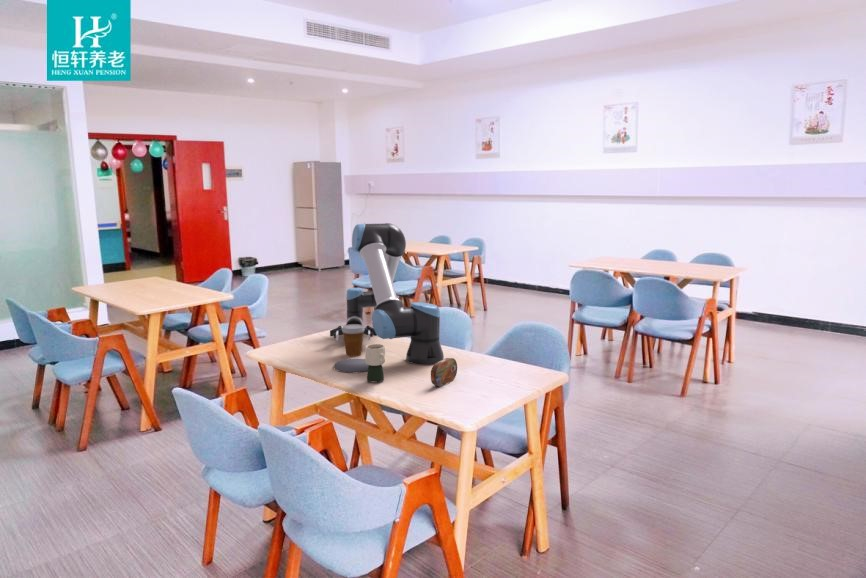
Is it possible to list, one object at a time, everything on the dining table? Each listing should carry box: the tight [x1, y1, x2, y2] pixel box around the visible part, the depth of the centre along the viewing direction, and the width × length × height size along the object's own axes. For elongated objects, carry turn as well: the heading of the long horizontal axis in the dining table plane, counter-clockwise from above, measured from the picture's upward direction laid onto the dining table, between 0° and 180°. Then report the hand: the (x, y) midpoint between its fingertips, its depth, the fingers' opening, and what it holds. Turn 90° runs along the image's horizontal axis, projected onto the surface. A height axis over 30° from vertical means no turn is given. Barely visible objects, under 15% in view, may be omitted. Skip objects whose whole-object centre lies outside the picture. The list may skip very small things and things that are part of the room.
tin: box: [430, 357, 458, 388], centre depth 212 cm, size 15×3×8 cm, turn 148°
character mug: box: [364, 343, 386, 383], centre depth 213 cm, size 11×7×13 cm, turn 39°
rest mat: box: [333, 358, 369, 374], centre depth 231 cm, size 16×16×1 cm
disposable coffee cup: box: [342, 324, 365, 357], centre depth 246 cm, size 10×10×12 cm
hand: (353, 337), depth 250 cm, fingers open, 13 cm apart
